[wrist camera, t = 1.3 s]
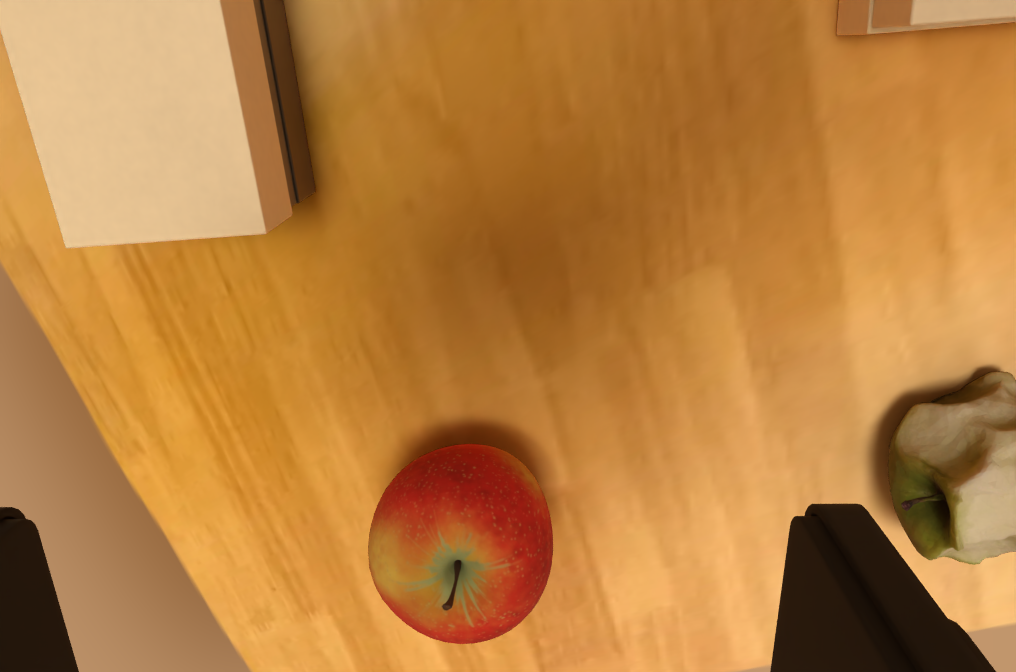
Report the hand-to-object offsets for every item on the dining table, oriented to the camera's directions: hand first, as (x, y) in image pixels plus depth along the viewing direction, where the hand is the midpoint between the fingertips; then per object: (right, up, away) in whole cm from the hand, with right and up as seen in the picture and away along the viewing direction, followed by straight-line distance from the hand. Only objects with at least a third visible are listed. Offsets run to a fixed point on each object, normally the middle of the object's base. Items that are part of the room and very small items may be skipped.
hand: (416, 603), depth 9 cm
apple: (-1, -4, +28) cm, 29 cm away
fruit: (+23, -2, +27) cm, 35 cm away
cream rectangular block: (-11, +13, +17) cm, 24 cm away
